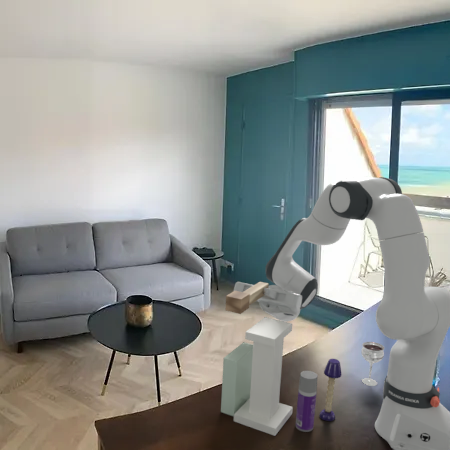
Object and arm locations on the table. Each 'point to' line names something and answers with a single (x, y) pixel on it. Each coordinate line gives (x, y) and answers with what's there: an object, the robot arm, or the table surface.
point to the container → (306, 401)
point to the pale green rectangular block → (236, 378)
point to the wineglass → (372, 358)
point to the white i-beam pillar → (266, 378)
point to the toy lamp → (330, 388)
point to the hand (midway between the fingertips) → (258, 289)
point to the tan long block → (244, 298)
